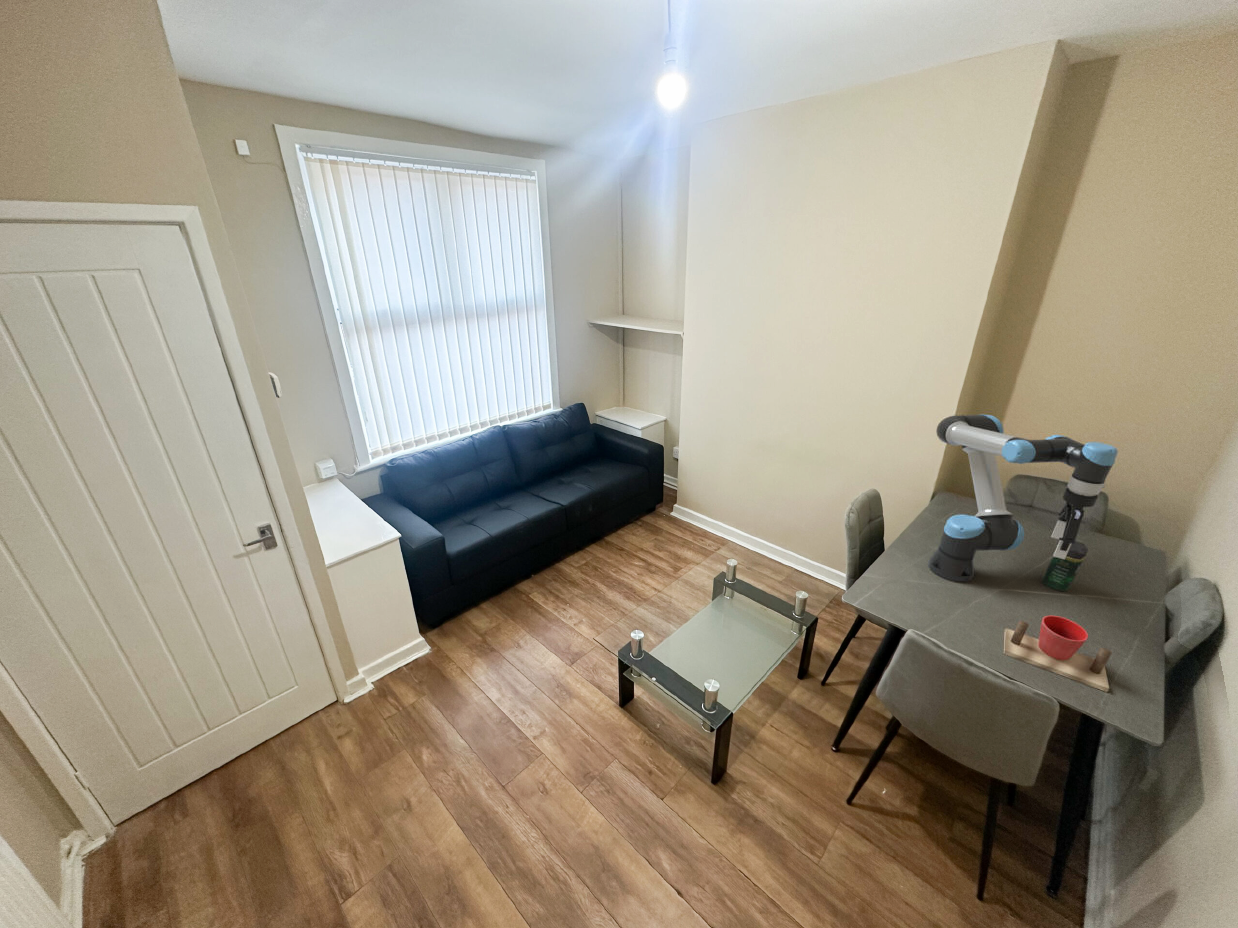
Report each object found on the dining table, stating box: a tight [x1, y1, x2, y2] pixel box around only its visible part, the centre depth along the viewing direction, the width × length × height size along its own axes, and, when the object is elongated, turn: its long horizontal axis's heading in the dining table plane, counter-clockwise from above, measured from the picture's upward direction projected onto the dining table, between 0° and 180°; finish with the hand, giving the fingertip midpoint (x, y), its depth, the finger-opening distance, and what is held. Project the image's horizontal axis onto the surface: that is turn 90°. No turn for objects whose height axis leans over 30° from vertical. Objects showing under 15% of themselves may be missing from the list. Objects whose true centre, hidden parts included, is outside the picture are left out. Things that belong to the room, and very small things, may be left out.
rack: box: [1003, 620, 1113, 693], centre depth 145 cm, size 24×12×10 cm, turn 52°
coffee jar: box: [1041, 540, 1089, 592], centre depth 175 cm, size 10×8×19 cm
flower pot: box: [1038, 615, 1089, 660], centre depth 146 cm, size 11×11×10 cm
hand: (1057, 547), depth 156 cm, fingers open, 13 cm apart
